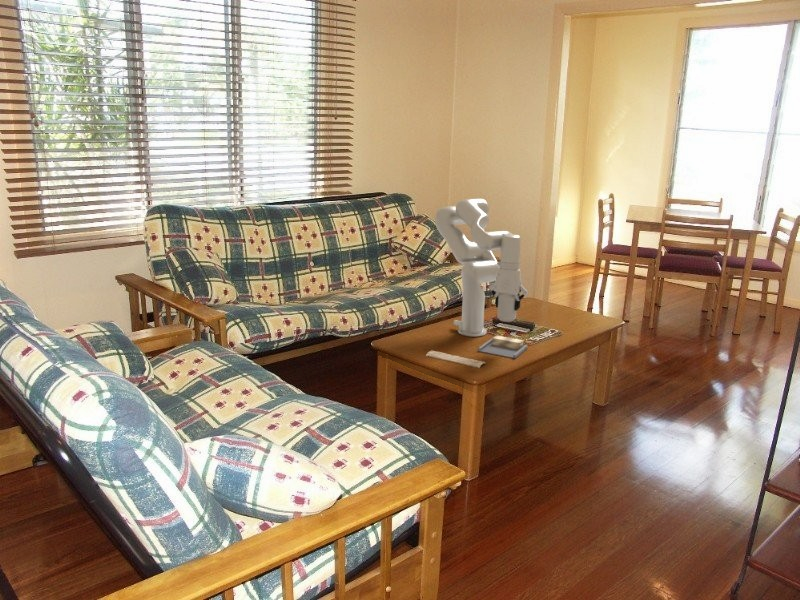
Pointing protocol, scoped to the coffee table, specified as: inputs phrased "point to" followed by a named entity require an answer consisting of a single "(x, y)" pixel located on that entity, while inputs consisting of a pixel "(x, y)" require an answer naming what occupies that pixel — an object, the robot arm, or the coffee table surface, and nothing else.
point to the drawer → (501, 350)
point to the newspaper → (455, 359)
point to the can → (506, 307)
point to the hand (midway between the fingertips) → (507, 307)
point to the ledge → (507, 342)
